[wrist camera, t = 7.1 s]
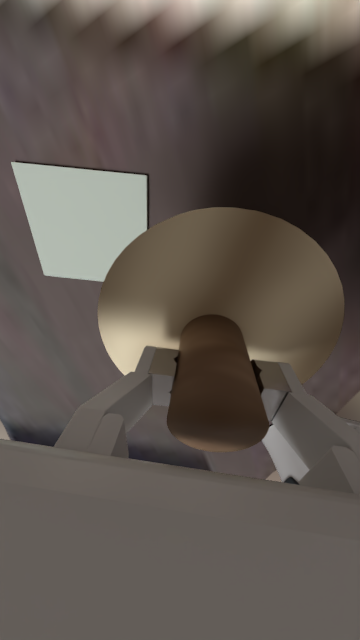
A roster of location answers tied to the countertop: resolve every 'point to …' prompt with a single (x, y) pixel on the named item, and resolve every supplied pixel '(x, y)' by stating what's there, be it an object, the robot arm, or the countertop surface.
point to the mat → (81, 216)
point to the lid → (222, 315)
